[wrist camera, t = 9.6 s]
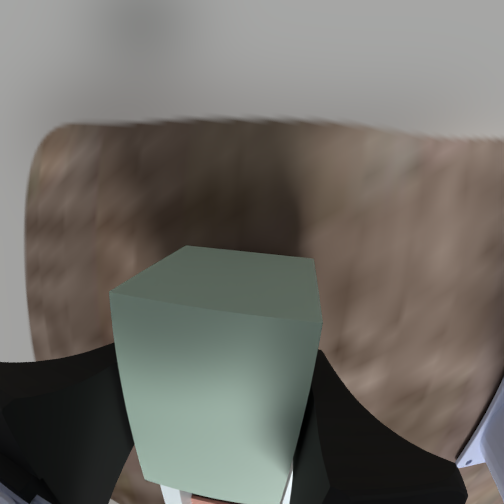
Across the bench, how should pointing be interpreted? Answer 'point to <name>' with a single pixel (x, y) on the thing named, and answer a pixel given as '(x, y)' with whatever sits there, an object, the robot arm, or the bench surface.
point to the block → (218, 368)
